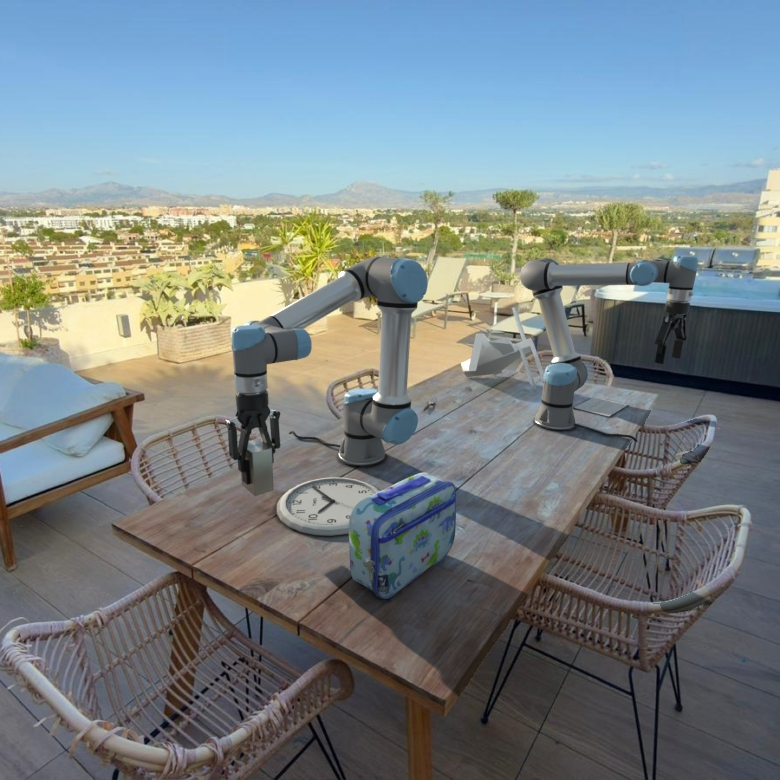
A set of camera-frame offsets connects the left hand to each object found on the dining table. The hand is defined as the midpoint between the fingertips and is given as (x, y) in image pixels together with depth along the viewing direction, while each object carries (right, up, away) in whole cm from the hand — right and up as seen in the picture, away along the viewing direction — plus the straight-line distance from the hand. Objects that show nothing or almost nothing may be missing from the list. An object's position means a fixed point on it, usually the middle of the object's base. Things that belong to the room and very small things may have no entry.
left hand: (257, 478), depth 131 cm
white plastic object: (+88, +25, +126) cm, 155 cm away
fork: (+50, +15, +92) cm, 105 cm away
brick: (0, -2, +1) cm, 2 cm away
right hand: (+134, +33, +57) cm, 149 cm away
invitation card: (+125, +15, +95) cm, 158 cm away
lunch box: (+37, -18, -16) cm, 44 cm away
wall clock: (+18, -9, +11) cm, 23 cm away
